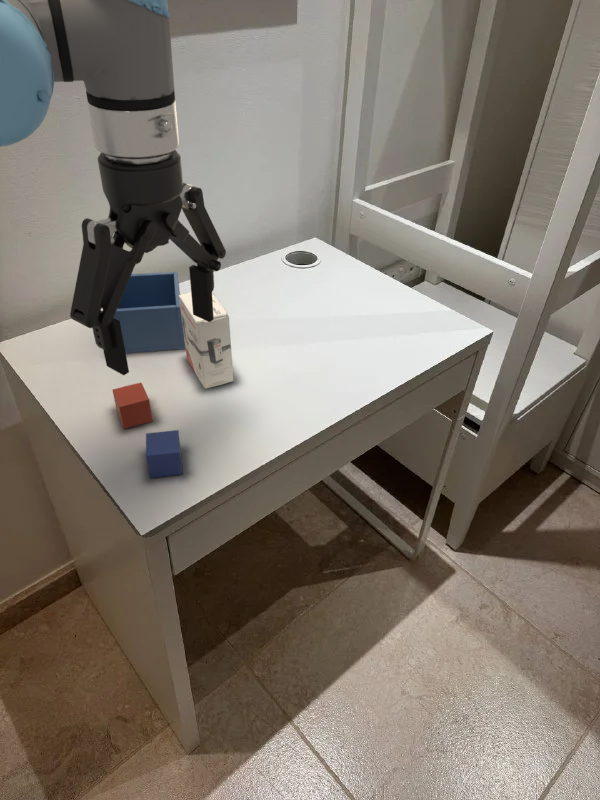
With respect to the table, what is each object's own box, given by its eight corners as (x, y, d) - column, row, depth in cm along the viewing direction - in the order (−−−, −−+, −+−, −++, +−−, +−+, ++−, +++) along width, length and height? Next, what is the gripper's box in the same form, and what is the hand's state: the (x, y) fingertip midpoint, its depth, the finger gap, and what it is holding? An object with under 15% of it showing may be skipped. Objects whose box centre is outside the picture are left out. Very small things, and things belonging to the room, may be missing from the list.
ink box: (184, 359, 91) (177, 292, 83) (214, 351, 93) (210, 285, 85) (203, 391, 85) (197, 322, 77) (234, 382, 87) (232, 314, 79)
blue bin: (111, 354, 91) (103, 312, 86) (114, 316, 99) (106, 275, 94) (185, 348, 93) (180, 306, 88) (181, 311, 101) (177, 271, 96)
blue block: (150, 478, 72) (145, 455, 69) (149, 455, 75) (145, 433, 72) (182, 474, 72) (179, 452, 70) (181, 452, 75) (178, 429, 73)
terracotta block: (123, 429, 78) (119, 407, 75) (116, 411, 81) (112, 389, 78) (152, 421, 80) (149, 399, 77) (145, 403, 82) (141, 382, 80)
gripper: (49, 199, 44) (99, 410, 57) (255, 131, 60) (255, 308, 73) (-10, 176, 47) (51, 381, 61) (200, 117, 63) (211, 289, 77)
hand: (163, 341), depth 67 cm, fingers open, 13 cm apart
